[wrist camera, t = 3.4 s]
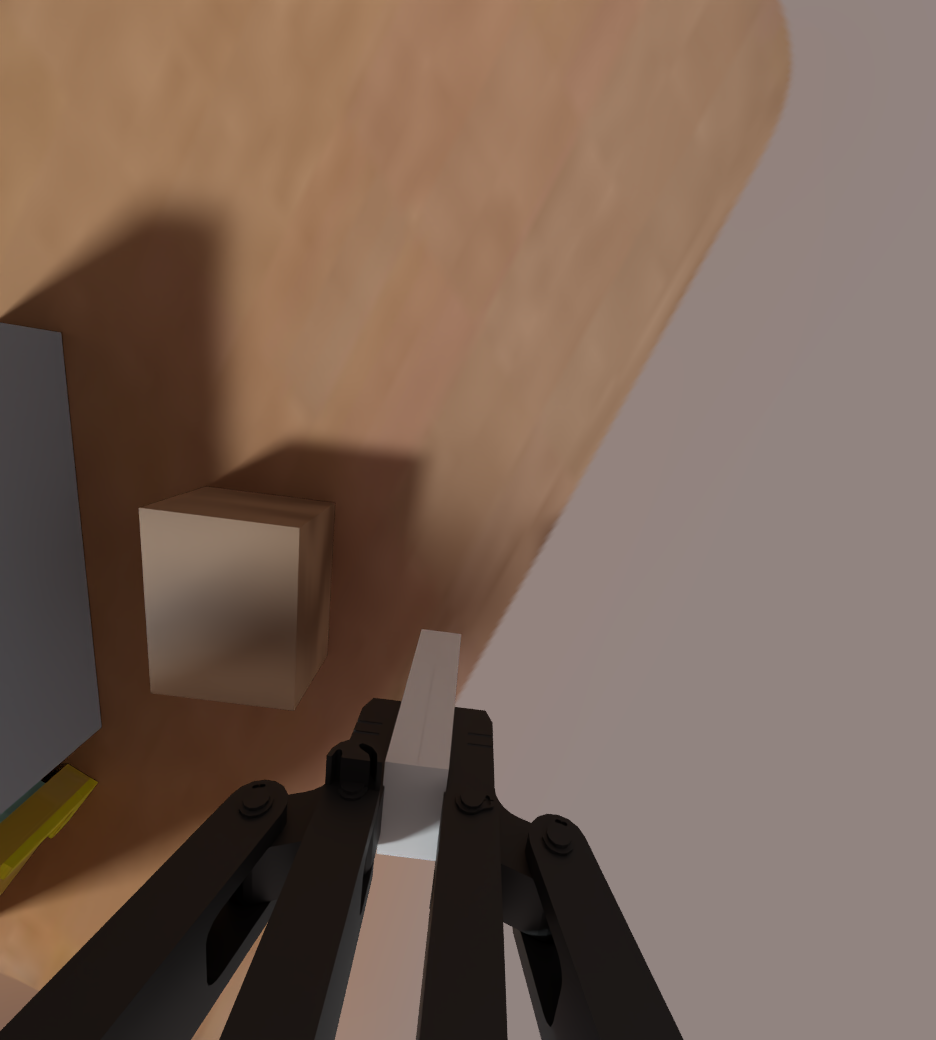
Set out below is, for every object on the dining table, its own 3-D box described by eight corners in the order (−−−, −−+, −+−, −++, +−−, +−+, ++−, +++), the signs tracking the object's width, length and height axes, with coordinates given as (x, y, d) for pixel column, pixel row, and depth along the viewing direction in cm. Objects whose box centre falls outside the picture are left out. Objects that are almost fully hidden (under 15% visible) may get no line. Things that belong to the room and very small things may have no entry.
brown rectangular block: (208, 485, 21) (138, 507, 17) (336, 501, 21) (299, 528, 17) (212, 638, 23) (150, 693, 19) (328, 652, 23) (294, 710, 19)
